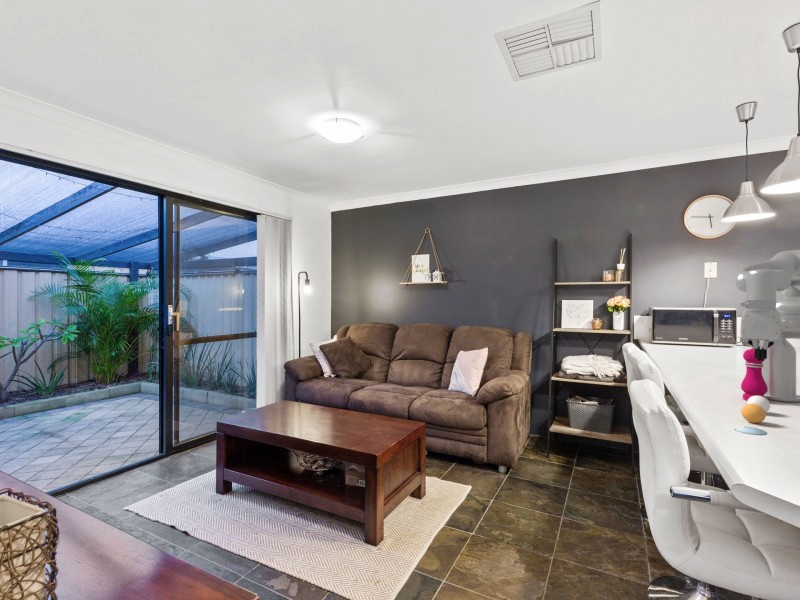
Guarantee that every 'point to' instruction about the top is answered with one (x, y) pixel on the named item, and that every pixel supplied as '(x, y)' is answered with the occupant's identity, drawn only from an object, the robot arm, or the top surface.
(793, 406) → the top surface
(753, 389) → the pepper mill
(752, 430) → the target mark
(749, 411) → the object ball
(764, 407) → the cue ball
